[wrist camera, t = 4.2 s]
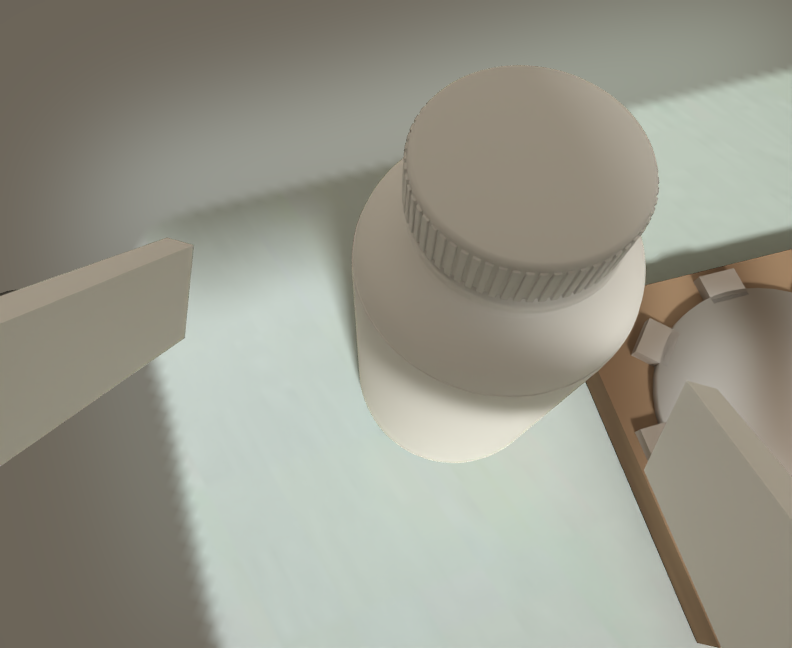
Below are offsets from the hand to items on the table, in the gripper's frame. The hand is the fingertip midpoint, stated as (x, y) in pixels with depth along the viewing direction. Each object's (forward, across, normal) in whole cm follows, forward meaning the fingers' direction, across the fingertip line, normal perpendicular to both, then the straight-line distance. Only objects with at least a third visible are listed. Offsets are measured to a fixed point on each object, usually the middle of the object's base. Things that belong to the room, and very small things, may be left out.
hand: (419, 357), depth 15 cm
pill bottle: (+10, +1, -5) cm, 11 cm away
